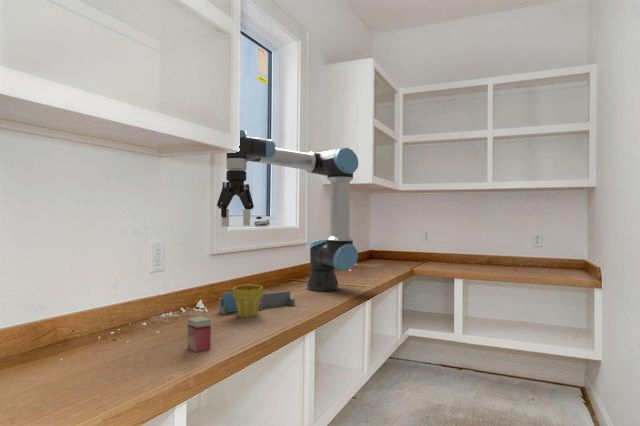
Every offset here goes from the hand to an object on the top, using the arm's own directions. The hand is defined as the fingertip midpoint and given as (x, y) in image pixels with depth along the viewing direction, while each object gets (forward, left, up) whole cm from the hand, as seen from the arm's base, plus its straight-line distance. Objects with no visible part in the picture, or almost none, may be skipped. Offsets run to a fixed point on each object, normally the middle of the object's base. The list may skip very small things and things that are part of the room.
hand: (236, 226), depth 158 cm
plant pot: (+1, +15, -31) cm, 34 cm away
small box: (+25, +43, -31) cm, 59 cm away
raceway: (-6, +8, -31) cm, 32 cm away
